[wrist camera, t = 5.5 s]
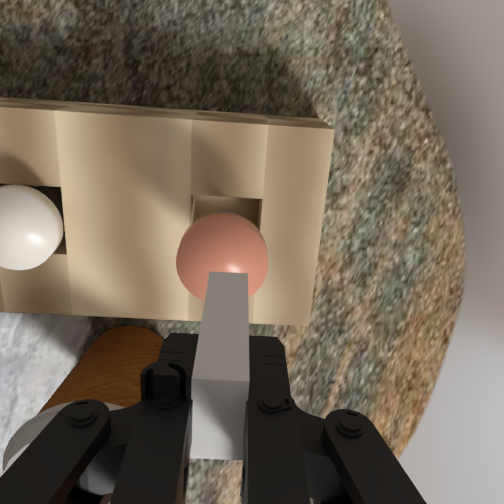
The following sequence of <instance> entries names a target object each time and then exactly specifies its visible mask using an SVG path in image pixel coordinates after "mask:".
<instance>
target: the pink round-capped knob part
mask: <svg viewBox="0 0 504 504" xmlns="http://www.w3.org/2000/svg"><path fill="white" fill-rule="evenodd" d="M176 268H177V273H178V276H179V278H180V280H181V282H182V284H183V285H184V287H185V288H186V289H187V290H188V291H189V292H190V293H191V294H192V295H194V296H195V297H197V298H198V299H200V300H202V301H205V296H206V290H207V284H208V278H209V272H210V271H212V272H230V273H248V298H249V297H250V296H252V295H253V294H254V293H255V292H256V291H257V290H258V289H259V288H260V287H261V285H262V284H263V282H264V280H265V278H266V275H267V272H268V254H267V247H266V243H265V240H264V238H263V235H262V234H261V232H260V231H259V229H258V228H257V227H256V226H255V225H254V224H253V223H252V222H250V221H249V220H248V219H246V218H244V217H242V216H240V215H239V214H237V213H236V212H234V211H232V210H226V209H223V210H218V211H216V212H214V213H212V214H208V215H206V216H203V217H201V218H199V219H198V220H196V221H195V222H194V223H192V224H191V225H190V226H189V227H188V229H187V230H186V231H185V233H184V235H183V236H182V239H181V242H180V245H179V248H178V251H177V256H176Z"/></svg>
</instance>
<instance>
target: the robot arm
mask: <svg viewBox="0 0 504 504" xmlns="http://www.w3.org/2000/svg"><path fill="white" fill-rule="evenodd" d="M286 365H287V364H286V358H285V349H284V345H283V344H282V343H281V342H280V340H279V339H278V338H277V337H267V336H249V306H248V273H230V272H212V271H210V272H209V278H208V284H207V290H206V296H205V302H204V308H203V314H202V320H201V326H200V332H199V334H187V333H171V334H170V335H169V336H168V337H167V338H166V339H165V340H164V341H163V343H162V346H161V350H160V353H159V357H158V361H157V362H154V363H151V364H149V365H148V366H146V367H145V368H144V369H143V370H142V372H141V373H140V386H141V401H139V402H138V403H136V404H134V405H132V406H130V407H126V408H123V409H117V410H112V411H109V408H108V407H107V405H106V404H105V403H103V402H101V401H98V400H93V399H84V400H78V401H75V402H73V403H70V404H68V405H66V406H65V407H64V408H63V409H61V410H60V411H59V412H58V413H57V414H56V415H55V417H54V418H53V419H52V420H51V421H50V422H49V423H48V424H47V425H46V427H45V428H44V429H43V430H42V431H41V432H40V433H39V434H38V436H37V437H36V438H35V439H34V440H33V441H32V442H31V443H30V445H29V446H28V447H27V448H26V449H25V450H24V451H23V452H22V454H21V455H20V456H19V457H18V458H17V459H16V460H15V461H14V463H13V464H12V465H11V466H10V467H9V468H8V469H7V470H6V472H5V473H4V474H3V475H2V476H1V477H0V504H109V502H110V504H185V500H186V492H187V485H188V477H189V458H199V459H224V460H243V467H242V480H241V492H240V496H241V497H242V502H241V504H310V498H313V504H426V502H425V501H424V499H423V498H422V496H421V495H420V493H419V492H418V490H417V489H416V487H415V486H414V484H413V483H412V481H411V480H410V478H409V477H408V475H407V474H406V472H405V471H404V469H403V468H402V467H401V465H400V463H399V462H398V460H397V459H396V457H395V456H394V454H393V453H392V451H391V450H390V448H389V447H388V445H387V444H386V442H385V441H384V439H383V438H382V436H381V435H380V433H379V432H378V430H377V429H376V427H375V426H374V424H373V423H372V422H371V421H370V420H369V419H368V418H367V417H366V416H364V415H362V414H361V413H359V412H356V411H352V410H349V409H338V410H335V411H332V412H330V413H329V414H328V415H327V416H326V418H325V419H323V418H320V417H316V416H313V415H311V414H308V413H306V412H304V411H302V410H301V409H300V408H298V407H297V406H296V404H295V402H294V399H292V398H291V393H290V386H289V378H288V371H287V366H286ZM309 497H310V498H309Z"/></svg>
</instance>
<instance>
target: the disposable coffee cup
mask: <svg viewBox="0 0 504 504" xmlns="http://www.w3.org/2000/svg"><path fill="white" fill-rule="evenodd" d="M163 341H164V340H163V339H162V338H161V337H160V336H159V335H158V334H156V333H155V332H153V331H151V330H149V329H146V328H143V327H139V326H131V325H126V326H118V327H115V328H112V329H109V330H107V331H105V332H104V333H103V334H102V335H100V336H99V337H98V338H97V339H96V340H95V342H94V343H93V344H92V345H91V347H90V348H89V349H88V351H87V352H86V353H85V354H84V356H83V357H82V358H81V359H80V361H79V362H78V363H77V365H76V366H75V367H74V368H73V370H72V371H71V372H70V374H69V375H68V376H67V377H66V379H65V380H64V381H63V382H62V384H61V385H60V386H59V387H58V389H57V390H56V391H55V393H54V394H53V395H52V396H51V398H50V399H49V400H48V402H47V403H46V404H45V405H44V407H43V408H42V409H41V410H40V412H39V413H38V414H37V416H35V417H34V418H32V419H30V420H29V421H27V422H26V423H25V424H24V425H22V426H21V427H20V428H19V429H18V430H17V432H16V433H15V434H14V435H13V437H12V438H11V439H10V440H9V443H8V445H7V448H6V450H5V452H4V456H3V474H4V473H5V472H6V470H7V469H8V468H9V467H10V466H11V465H12V464H13V463H14V461H15V460H16V459H17V458H18V457H19V456H20V455H21V454H22V452H23V451H24V450H25V449H26V448H27V447H28V446H29V445H30V443H31V442H32V441H33V440H34V439H35V438H36V437H37V436H38V434H39V433H40V432H41V431H42V430H43V429H44V428H45V427H46V425H47V424H48V423H49V422H50V421H51V420H52V419H53V418H54V417H55V415H56V414H57V413H58V412H59V411H60V410H61V409H63V408H64V407H65V406H66V405H68V404H70V403H73V402H75V401H78V400H84V399H93V400H98V401H101V402H103V403H105V404H106V405H107V407H108V408H109V411H112V410H117V409H123V408H126V407H130V406H132V405H134V404H136V403H138V402H139V401H141V386H140V373H141V372H142V370H143V369H144V368H145V367H146V366H148V365H149V364H151V363H154V362H157V361H158V357H159V353H160V350H161V346H162V343H163ZM109 504H110V502H109Z"/></svg>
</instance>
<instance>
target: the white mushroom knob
mask: <svg viewBox="0 0 504 504" xmlns="http://www.w3.org/2000/svg"><path fill="white" fill-rule="evenodd" d="M63 218H64V215H63V204H62V193H61V192H60V191H59V190H57V189H56V188H54V187H51V186H38V187H36V188H34V189H33V188H31V187H28V186H24V185H5V186H2V187H0V266H1V267H4V268H7V269H11V270H27V269H31V268H34V267H37V266H39V265H40V264H42V263H43V262H45V261H46V260H47V259H48V258H49V257H50V256H51V254H52V253H53V252H54V251H55V250H56V249H57V248H58V246H59V245H60V243H61V240H62V237H63V222H62V219H63Z"/></svg>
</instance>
